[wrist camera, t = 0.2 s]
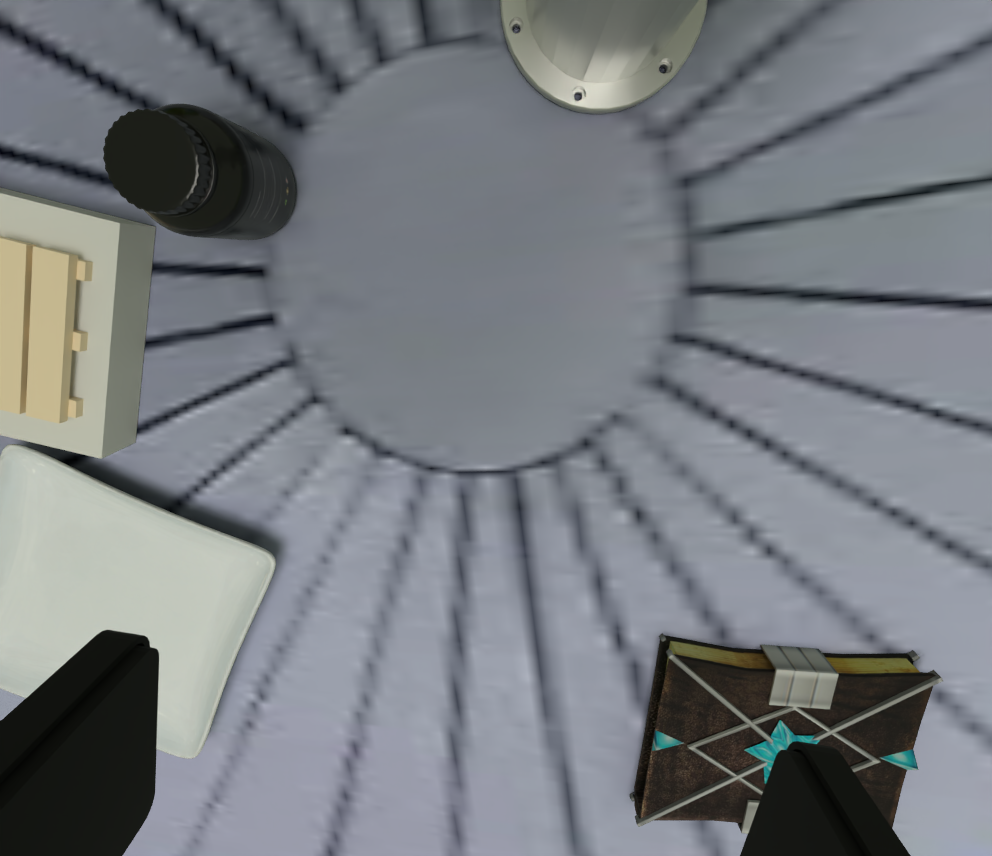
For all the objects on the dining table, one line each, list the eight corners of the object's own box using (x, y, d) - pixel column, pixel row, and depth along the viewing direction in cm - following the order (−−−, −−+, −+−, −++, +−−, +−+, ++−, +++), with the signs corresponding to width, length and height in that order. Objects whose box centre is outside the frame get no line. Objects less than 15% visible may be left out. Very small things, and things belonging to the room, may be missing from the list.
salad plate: (-24, 646, 52) (-61, 672, 48) (34, 427, 46) (-2, 440, 43) (213, 736, 54) (194, 767, 50) (295, 536, 48) (279, 556, 45)
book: (628, 792, 54) (639, 844, 50) (654, 627, 50) (669, 666, 45) (870, 811, 54) (905, 864, 50) (918, 646, 50) (962, 688, 45)
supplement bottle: (199, 235, 42) (82, 225, 31) (198, 128, 40) (73, 73, 29) (298, 247, 42) (219, 241, 31) (301, 140, 40) (217, 91, 29)
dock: (-49, 175, 41) (-132, 162, 36) (155, 226, 42) (104, 221, 37) (-51, 398, 46) (-125, 416, 40) (135, 442, 46) (87, 465, 41)
